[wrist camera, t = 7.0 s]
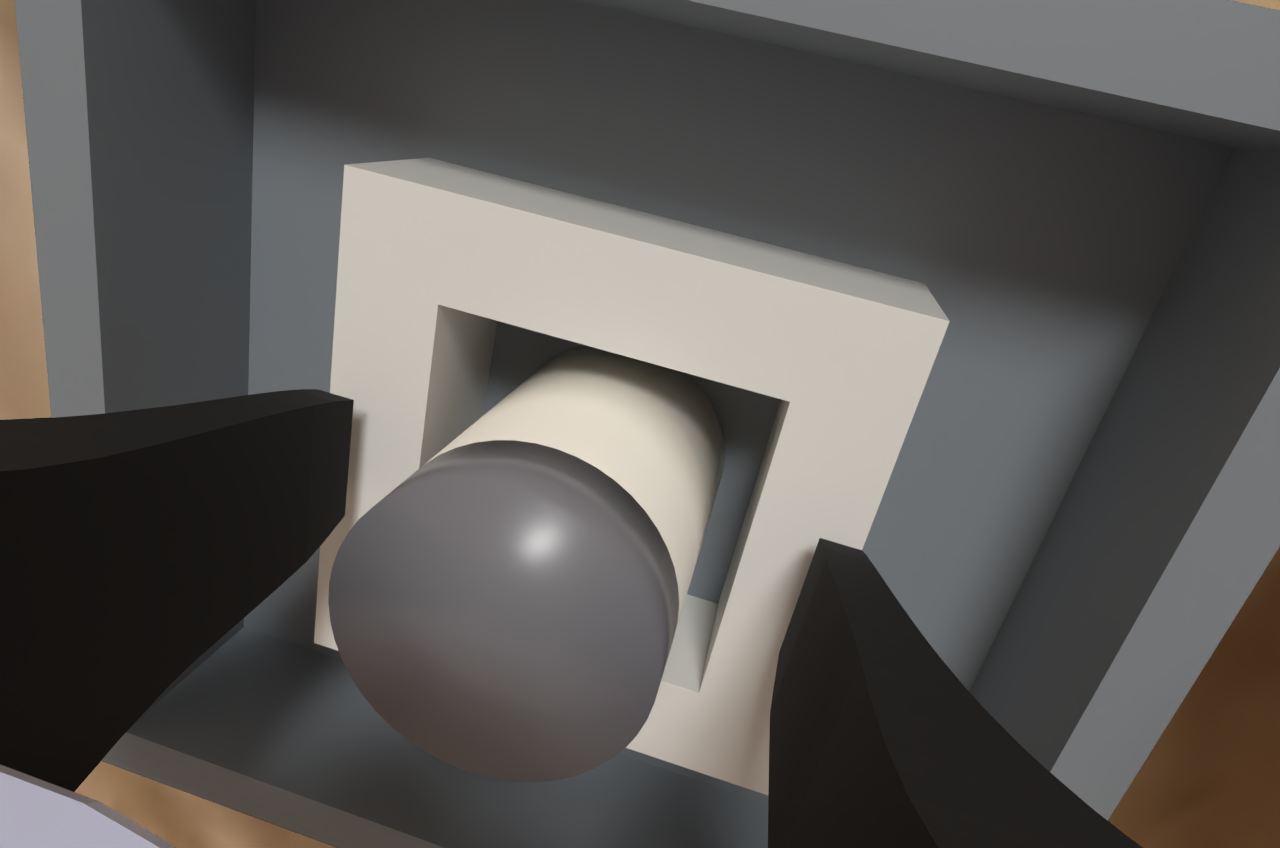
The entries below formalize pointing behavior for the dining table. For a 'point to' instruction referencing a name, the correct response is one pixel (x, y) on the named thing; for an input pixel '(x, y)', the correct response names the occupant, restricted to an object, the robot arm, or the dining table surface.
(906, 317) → the inlet socket
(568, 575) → the connector peg
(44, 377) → the dining table surface
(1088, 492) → the walled box
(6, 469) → the robot arm
